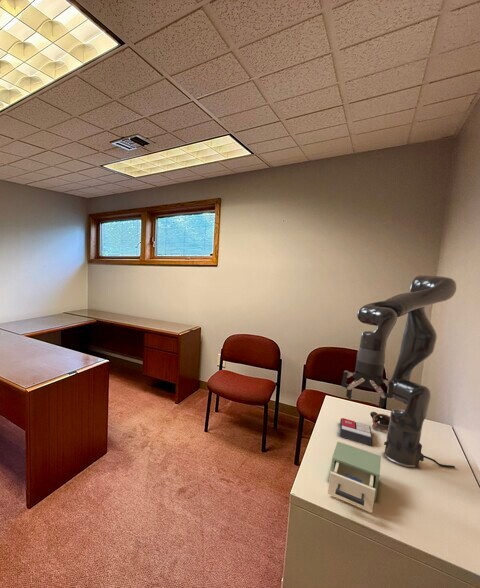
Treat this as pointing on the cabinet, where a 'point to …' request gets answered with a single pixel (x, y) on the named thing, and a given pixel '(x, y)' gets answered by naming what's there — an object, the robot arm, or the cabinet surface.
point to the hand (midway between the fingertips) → (364, 402)
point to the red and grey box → (355, 431)
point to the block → (353, 478)
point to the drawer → (352, 486)
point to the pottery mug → (382, 419)
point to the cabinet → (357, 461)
